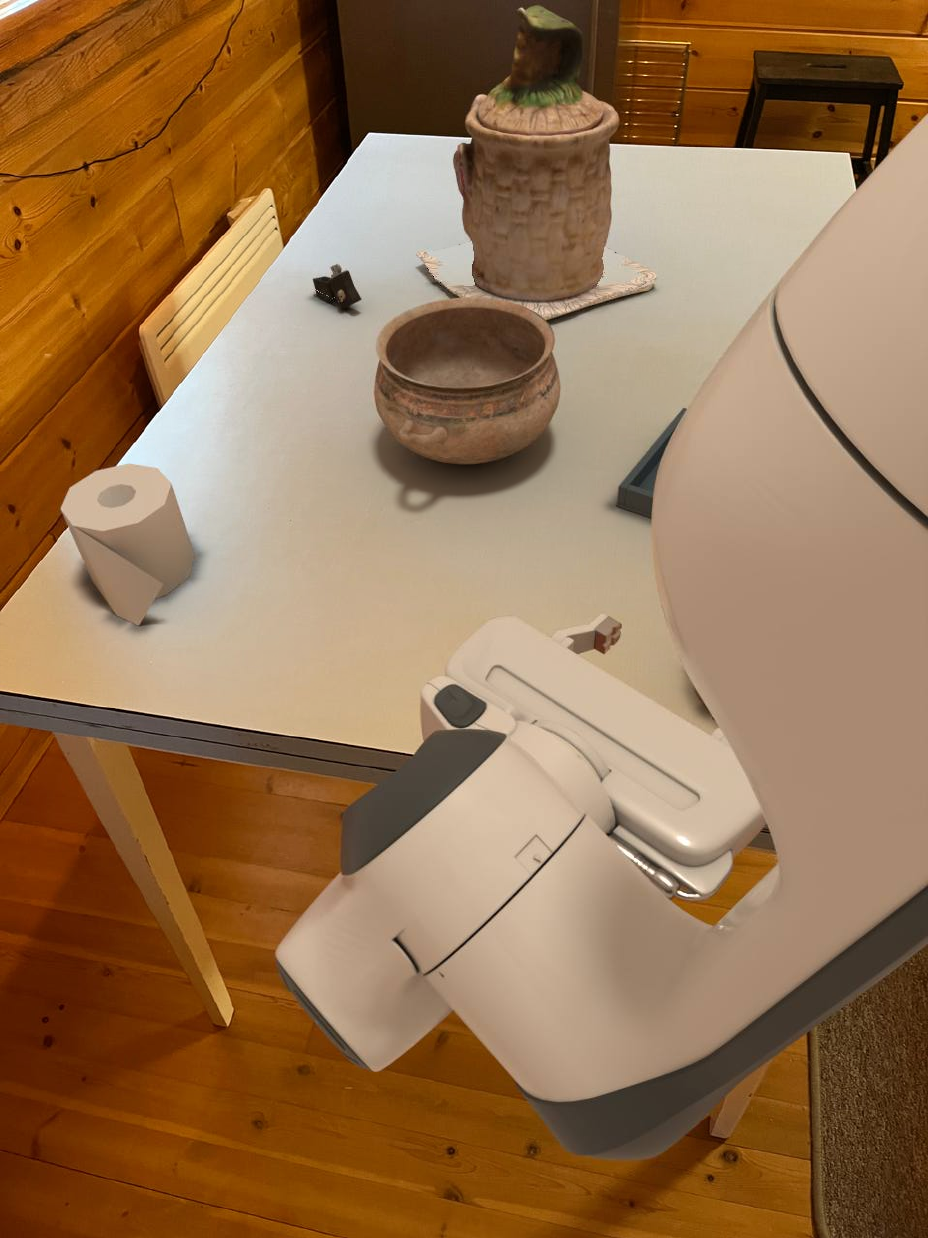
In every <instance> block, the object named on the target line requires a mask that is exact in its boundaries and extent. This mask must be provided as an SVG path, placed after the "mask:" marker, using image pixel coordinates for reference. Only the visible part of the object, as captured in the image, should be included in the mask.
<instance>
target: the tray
mask: <svg viewBox="0 0 928 1238" xmlns="http://www.w3.org/2000/svg"><path fill="white" fill-rule="evenodd" d="M687 408H688V407H687ZM687 408H686V407H683V408H681V410H680V411H679V412H678V414H676V416H675V417H674V419H672V421H671V422H670V423H669V425H668V426H667V427H666V428H665V429H664V430H663V432H662V433H660V435H659V436H658V437H657V439H656V440H655V441H654V443H653V444H652V445H651V446H650V447H649V449H647V451H646V452H645V454H644V455H643V456H642V457H641V458H640V460H639V461H638V462H637V463H636V465H635V466H634V467H633V468H632V469H631V470H630V472H629V473H628V474H627V475H626V476H625V478H624V479H623V480H622V481H621V483H620V484H619V485H618V488H617V489H618V491H617V499H616V507H618V508H621V509H623V510H627V511H629V512H632V513H635V514H638V515H641V516H644V517H647V518H650V519H652V506H653V494H654V487H655V481H656V477H657V472H658V468H659V465H660V462H661V459H662V456H663V454H664V451H665V449H666V447H667V445H668V443H669V441H670V439H671V437H672V435H673V433H674V431H675V429H676V427H677V425H678V424H679V422H680V420H681V418H682V417H683V415H684V413H685V412H686V410H687Z"/></svg>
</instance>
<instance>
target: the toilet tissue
mask: <svg viewBox="0 0 928 1238" xmlns="http://www.w3.org/2000/svg"><path fill="white" fill-rule="evenodd" d="M60 511H61V515H62V516H63V518H64V520H65V523H66V525H67V527H68V529H69V532H70V534H71V536H72V539H73V541H74V543H75V546H76V547H77V550H78V552H79V554H80V556H81V559H82V561H83V563H84V566H85V568H86V570H87V573H88V574H89V577H90V579H91V581H92V583H93V585H95V587H96V588H97V590H98V591H99V593H100V594H101V596H102V597H103V598H104V600H105V601H106V603H107V604H108V605H109V607H110V609H111V611H113V612H114V614H115V615H116V616H117V617H119V618H121V619H122V620H126V621H127V622H129V623H132V624H134V625H136V626H138V627H139V626H140V625H141V623H142V622H143V620H144V618H145V617H146V615H147V613H148V611H149V609H150V608H151V606H152V605H153V603H154V601H155V599H159V598H163V597H166V596H167V595H170V593H172V591H174V590H175V589H176V588H178V587H179V586H180V585H181V584H183V583H184V582H185V581H187V580H188V579H189V578H191V577H190V576H191V573H192V570H193V566H194V562H195V559H196V553H195V551H194V548H193V545H192V542H191V539H190V536H189V533H188V529H187V527H186V524H185V521H184V517H183V515H182V511H181V508H180V505H179V502H178V499H177V496H176V493H175V490H174V487H173V484H172V482H171V480H169V479H168V478H167V477H166V476H165V474H163V472H162V471H161V470H160V469H159V468H158V467H153V466H147V465H142V464H141V465H140V464H136V463H125V464H121V465H116V466H112V467H107V468H101V469H97V470H95V471H93V472H92V473H90V474H89V475H87V476H86V477H84V478H83V479H81V480H79V481H78V482H77V483H75V484H73V485H72V486H70V487H69V489H68V491H67V493H66V495H65V497H64V499H63V501H62V504H61V506H60Z"/></svg>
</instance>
